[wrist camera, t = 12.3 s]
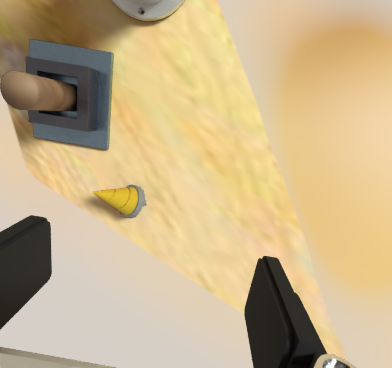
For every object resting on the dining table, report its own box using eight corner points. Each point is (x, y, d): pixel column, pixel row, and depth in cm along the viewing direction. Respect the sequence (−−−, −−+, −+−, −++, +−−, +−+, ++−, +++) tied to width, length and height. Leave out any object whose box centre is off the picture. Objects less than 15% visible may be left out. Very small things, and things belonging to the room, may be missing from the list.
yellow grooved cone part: (133, 217, 42) (78, 207, 34) (141, 188, 42) (89, 172, 35) (152, 223, 38) (95, 213, 31) (160, 192, 39) (107, 175, 31)
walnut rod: (57, 81, 34) (-2, 67, 25) (83, 85, 34) (34, 74, 25) (57, 109, 36) (1, 106, 26) (83, 113, 36) (36, 112, 26)
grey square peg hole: (33, 40, 34) (11, 31, 30) (113, 53, 34) (101, 46, 30) (37, 136, 38) (18, 138, 34) (108, 148, 38) (98, 152, 34)
